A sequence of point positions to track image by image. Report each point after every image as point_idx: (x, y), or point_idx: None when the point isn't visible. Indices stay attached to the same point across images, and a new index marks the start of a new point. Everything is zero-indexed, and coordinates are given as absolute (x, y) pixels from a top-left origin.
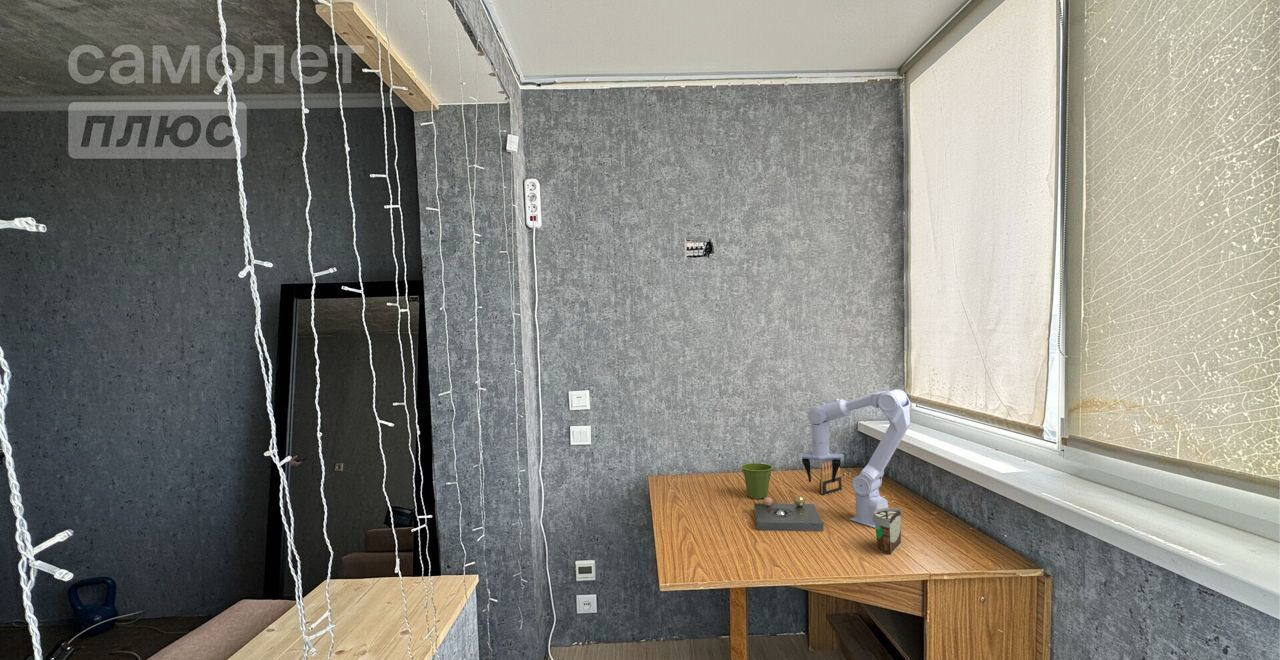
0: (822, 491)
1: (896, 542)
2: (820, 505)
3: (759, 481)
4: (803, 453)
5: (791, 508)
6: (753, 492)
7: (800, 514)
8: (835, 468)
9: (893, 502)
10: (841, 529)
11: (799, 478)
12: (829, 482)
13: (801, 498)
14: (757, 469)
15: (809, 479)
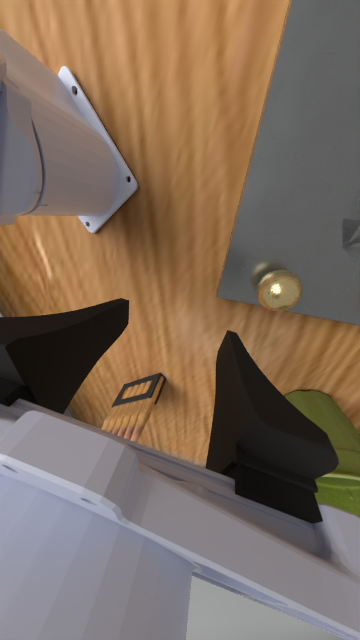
0: (159, 380)
1: None
2: (185, 324)
3: (344, 436)
4: (283, 611)
5: (321, 262)
6: (339, 409)
7: (337, 168)
8: (51, 322)
9: (42, 310)
10: (193, 48)
11: (177, 437)
12: (138, 395)
13: (281, 280)
14: None
15: (236, 337)
